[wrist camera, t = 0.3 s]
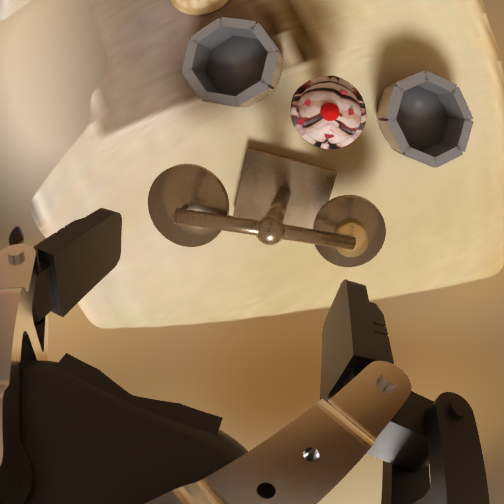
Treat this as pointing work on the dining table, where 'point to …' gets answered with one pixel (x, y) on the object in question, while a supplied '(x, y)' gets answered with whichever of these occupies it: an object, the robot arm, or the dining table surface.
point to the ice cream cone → (328, 112)
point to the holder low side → (425, 118)
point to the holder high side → (232, 62)
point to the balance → (268, 208)
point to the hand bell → (198, 6)
